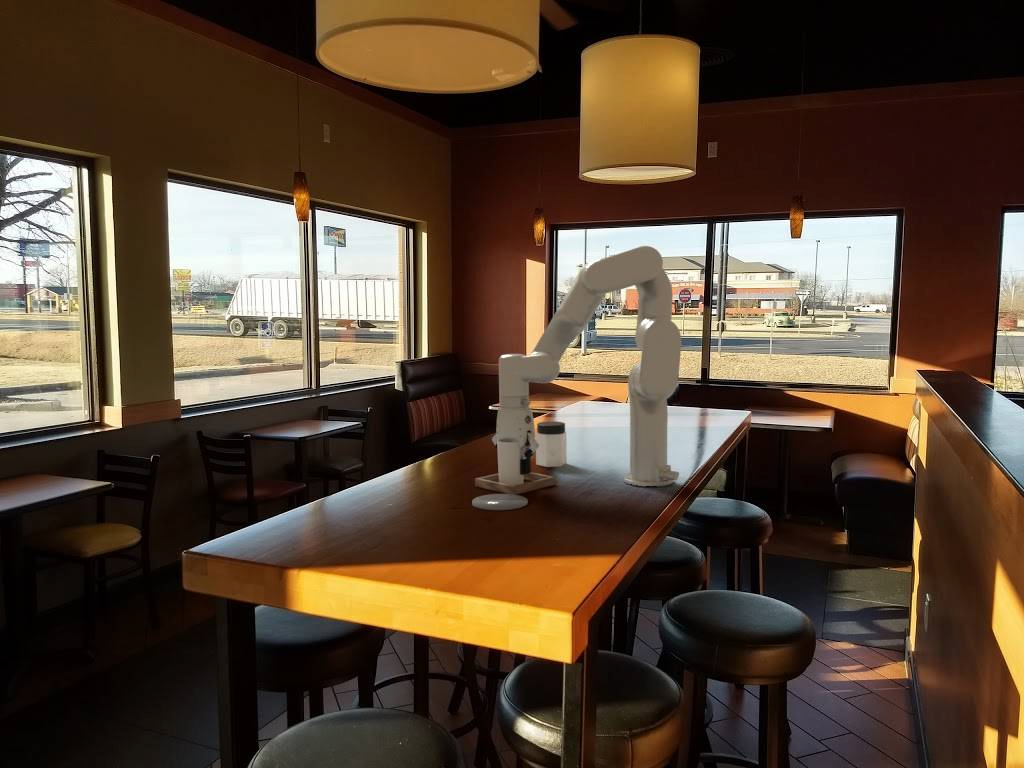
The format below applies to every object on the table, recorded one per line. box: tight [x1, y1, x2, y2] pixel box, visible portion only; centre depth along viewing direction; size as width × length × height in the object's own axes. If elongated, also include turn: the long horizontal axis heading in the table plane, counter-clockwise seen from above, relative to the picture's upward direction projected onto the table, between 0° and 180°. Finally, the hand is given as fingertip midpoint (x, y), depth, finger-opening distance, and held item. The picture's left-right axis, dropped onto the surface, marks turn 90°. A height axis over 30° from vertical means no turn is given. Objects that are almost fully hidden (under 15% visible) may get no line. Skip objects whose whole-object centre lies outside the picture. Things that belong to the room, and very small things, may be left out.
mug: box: [497, 439, 525, 486], centre depth 196 cm, size 10×7×12 cm, turn 150°
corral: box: [474, 471, 556, 495], centre depth 197 cm, size 14×15×2 cm
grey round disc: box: [471, 493, 529, 511], centre depth 179 cm, size 13×13×1 cm
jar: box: [535, 420, 568, 468], centre depth 222 cm, size 9×8×12 cm
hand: (515, 471), depth 196 cm, fingers closed on mug, 6 cm apart
